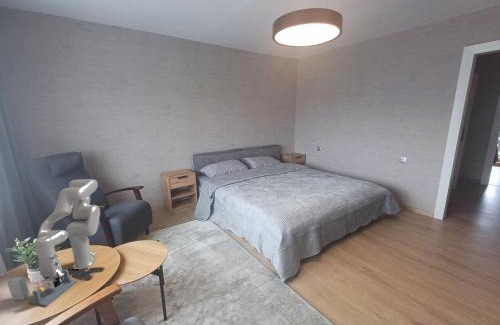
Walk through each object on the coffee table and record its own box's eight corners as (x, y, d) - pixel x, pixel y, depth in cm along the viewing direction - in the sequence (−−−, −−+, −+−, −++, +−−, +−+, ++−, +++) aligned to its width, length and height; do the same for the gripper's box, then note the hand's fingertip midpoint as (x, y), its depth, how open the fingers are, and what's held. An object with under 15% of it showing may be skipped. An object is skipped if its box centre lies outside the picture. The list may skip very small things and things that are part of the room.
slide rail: (60, 280, 140) (57, 268, 138) (76, 282, 138) (74, 270, 136) (28, 303, 123) (25, 290, 121) (46, 306, 121) (43, 293, 119)
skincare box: (30, 293, 130) (26, 275, 127) (23, 300, 125) (18, 281, 123) (19, 294, 129) (14, 276, 126) (12, 301, 125) (6, 282, 122)
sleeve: (54, 280, 133) (53, 274, 132) (61, 281, 132) (59, 275, 131) (46, 287, 128) (44, 280, 127) (52, 288, 127) (51, 281, 126)
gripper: (66, 255, 129) (72, 282, 133) (42, 252, 131) (48, 279, 135) (53, 263, 121) (59, 292, 125) (27, 260, 124) (35, 288, 128)
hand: (53, 285), depth 130 cm, fingers closed on sleeve, 4 cm apart
